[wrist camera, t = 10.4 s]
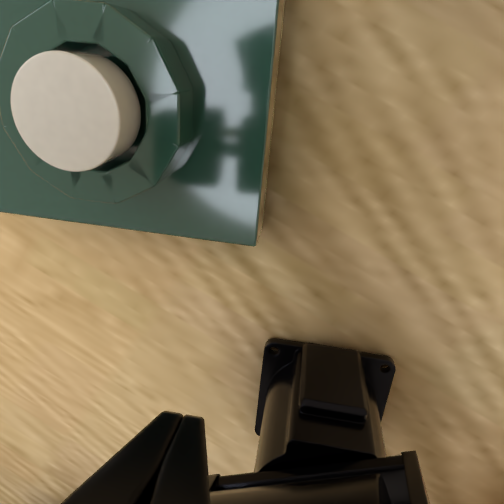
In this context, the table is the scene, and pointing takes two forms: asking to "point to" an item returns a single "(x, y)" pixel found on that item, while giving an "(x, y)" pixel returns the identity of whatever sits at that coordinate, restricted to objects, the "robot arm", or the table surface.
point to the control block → (156, 114)
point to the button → (75, 109)
